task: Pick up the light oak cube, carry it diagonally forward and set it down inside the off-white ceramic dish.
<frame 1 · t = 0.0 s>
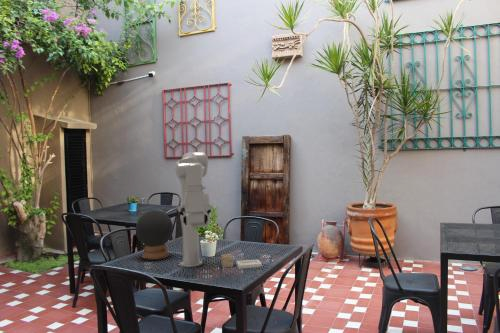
hand: (195, 224, 217), 31 cm above the table, tool pointing down, fingers open, 9 cm apart
dish: (248, 265, 255), on the table
oak cube: (227, 265, 257), on the table
decorative object: (155, 257, 282), on the table
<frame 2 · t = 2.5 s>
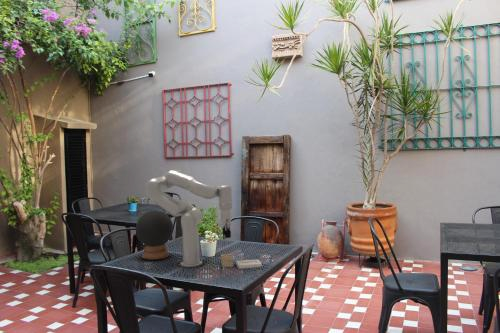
hand: (226, 236, 256), 17 cm above the table, tool pointing down, fingers open, 9 cm apart
nothing on the table moved.
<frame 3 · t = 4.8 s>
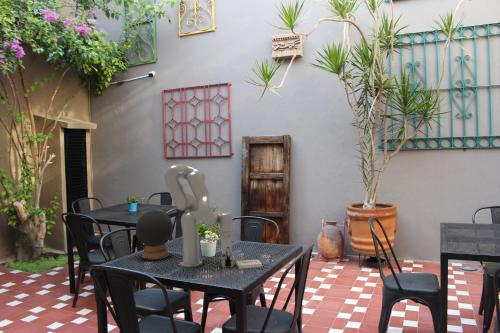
hand: (227, 264, 257), 1 cm above the table, tool pointing down, fingers closed on oak cube, 6 cm apart
oak cube: (227, 265, 257), on the table, touching gripper
everything else where it was.
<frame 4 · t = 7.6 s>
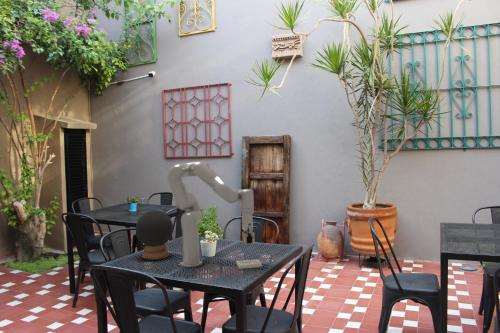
hand: (248, 241, 255), 14 cm above the table, tool pointing down, fingers closed on oak cube, 6 cm apart
oak cube: (248, 242, 255), point 13 cm above the table, touching gripper
everything else where it was.
when the fingers open (3 cm above the table, at t = 10.3 s): oak cube drops 1 cm, resting on dish.
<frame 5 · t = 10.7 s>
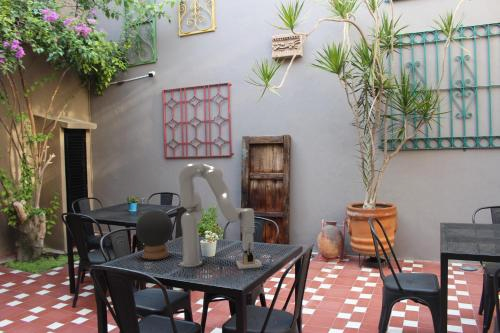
hand: (248, 259, 255), 4 cm above the table, tool pointing down, fingers open, 9 cm apart
oak cube: (248, 264, 255), point 1 cm above the table, touching dish
everything else where it was.
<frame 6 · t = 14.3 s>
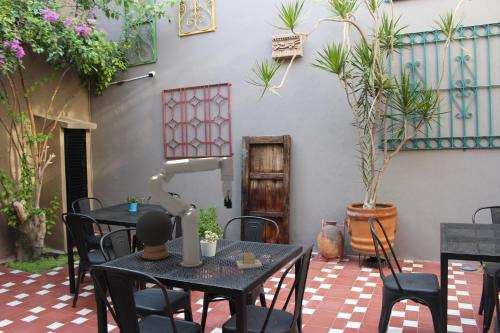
hand: (228, 207, 260), 33 cm above the table, tool pointing down, fingers open, 9 cm apart
nothing on the table moved.
at the end: oak cube inside the target area on the dish (0.0 cm from its centre), point 0.8 cm above the dish's base; oak cube tilted 0°; the gripper is holding nothing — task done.
